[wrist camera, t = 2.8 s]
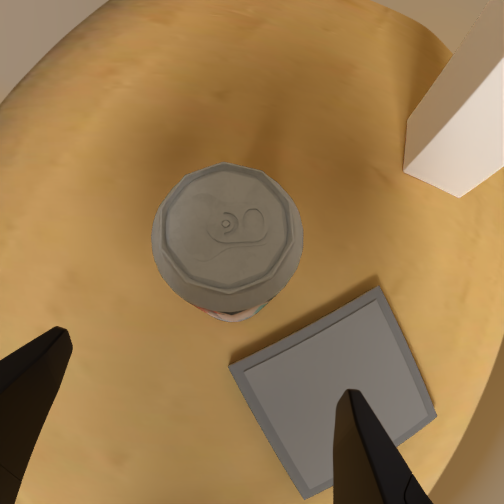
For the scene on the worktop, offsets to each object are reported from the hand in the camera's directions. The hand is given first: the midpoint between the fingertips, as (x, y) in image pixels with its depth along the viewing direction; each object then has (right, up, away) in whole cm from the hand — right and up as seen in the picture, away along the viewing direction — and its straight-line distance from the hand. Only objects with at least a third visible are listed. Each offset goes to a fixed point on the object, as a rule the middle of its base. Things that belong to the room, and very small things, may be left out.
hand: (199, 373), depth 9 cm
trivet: (+8, -6, +10) cm, 14 cm away
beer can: (0, +1, +12) cm, 12 cm away
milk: (+17, +12, +15) cm, 26 cm away
